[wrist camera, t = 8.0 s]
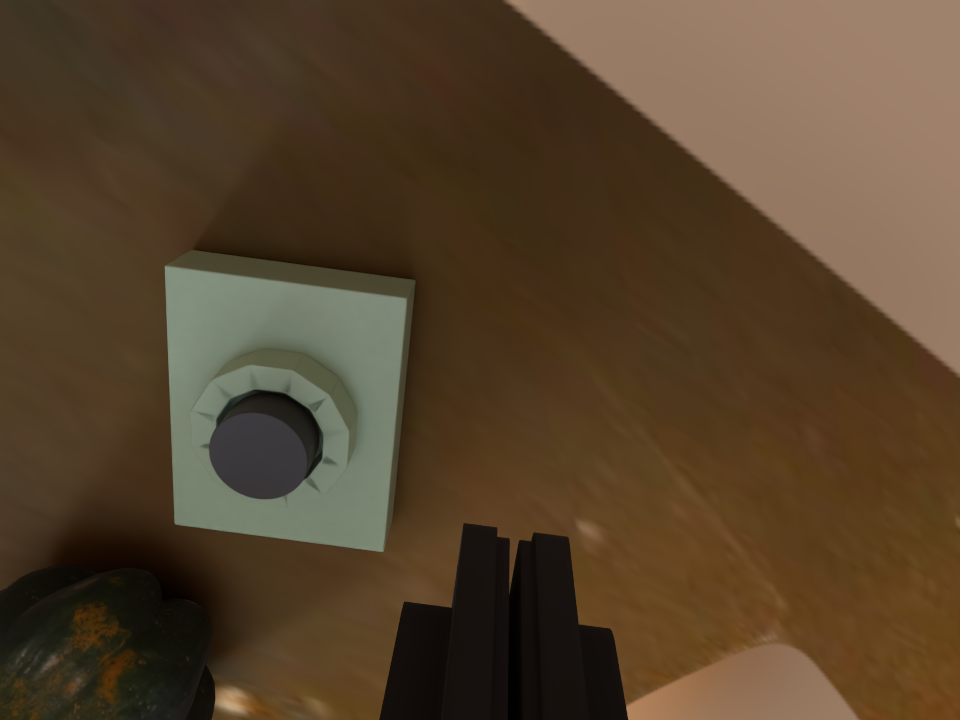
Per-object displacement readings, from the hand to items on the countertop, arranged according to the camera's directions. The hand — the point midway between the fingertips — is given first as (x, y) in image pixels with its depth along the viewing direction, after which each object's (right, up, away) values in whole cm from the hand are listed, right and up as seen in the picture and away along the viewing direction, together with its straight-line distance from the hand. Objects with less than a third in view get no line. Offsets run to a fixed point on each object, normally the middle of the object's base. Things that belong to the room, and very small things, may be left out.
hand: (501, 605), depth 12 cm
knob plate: (-10, +2, +27) cm, 29 cm away
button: (-10, 0, +22) cm, 25 cm away
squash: (-22, -12, +34) cm, 42 cm away
